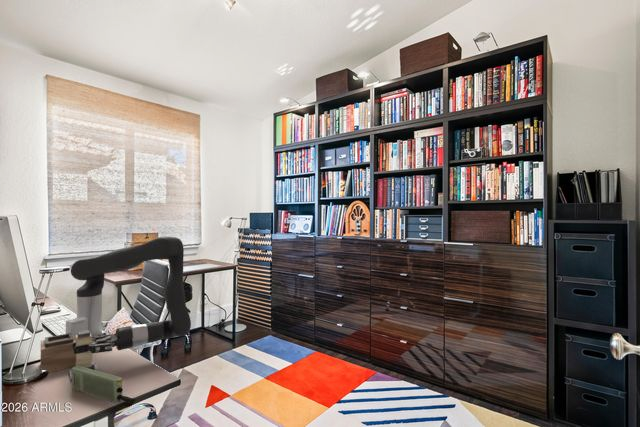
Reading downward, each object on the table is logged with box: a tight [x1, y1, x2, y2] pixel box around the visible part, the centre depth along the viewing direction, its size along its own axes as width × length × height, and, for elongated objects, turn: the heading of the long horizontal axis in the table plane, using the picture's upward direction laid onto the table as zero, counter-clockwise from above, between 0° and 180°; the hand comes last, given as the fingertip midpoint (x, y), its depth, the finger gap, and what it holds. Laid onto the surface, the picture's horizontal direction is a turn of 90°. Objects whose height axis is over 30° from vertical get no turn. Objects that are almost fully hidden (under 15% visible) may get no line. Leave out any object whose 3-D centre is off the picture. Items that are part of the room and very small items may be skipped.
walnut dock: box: [40, 333, 76, 373], centre depth 122 cm, size 10×10×9 cm
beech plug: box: [76, 330, 93, 368], centre depth 115 cm, size 4×4×11 cm
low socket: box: [68, 362, 100, 383], centre depth 115 cm, size 8×8×1 cm
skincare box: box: [65, 317, 88, 336], centre depth 134 cm, size 6×4×12 cm
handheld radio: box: [71, 366, 136, 405], centre depth 102 cm, size 7×3×25 cm
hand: (73, 348), depth 113 cm, fingers closed on beech plug, 4 cm apart
